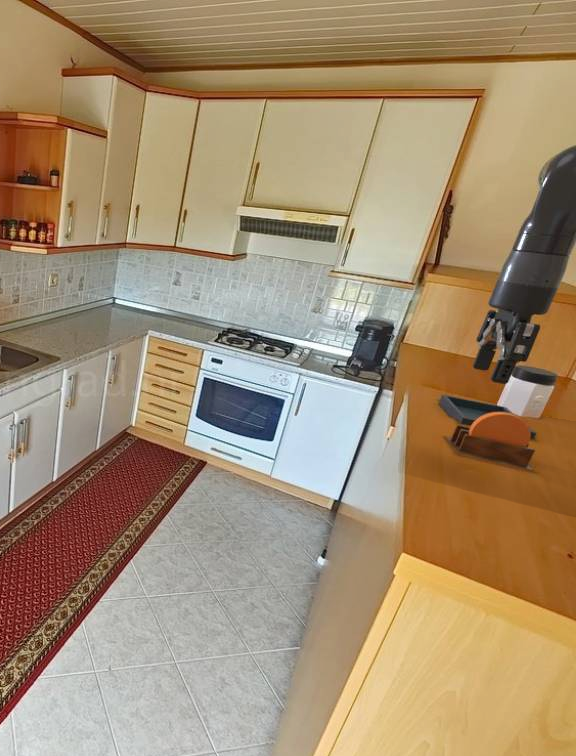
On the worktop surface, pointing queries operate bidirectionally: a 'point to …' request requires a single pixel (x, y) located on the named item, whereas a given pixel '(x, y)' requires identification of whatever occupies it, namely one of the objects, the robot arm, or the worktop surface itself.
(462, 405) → the tray
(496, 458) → the rack
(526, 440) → the disc
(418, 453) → the worktop surface
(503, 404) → the jar
